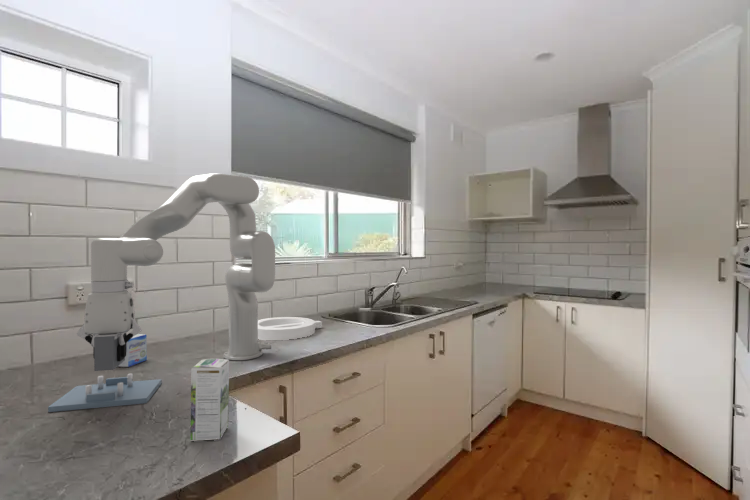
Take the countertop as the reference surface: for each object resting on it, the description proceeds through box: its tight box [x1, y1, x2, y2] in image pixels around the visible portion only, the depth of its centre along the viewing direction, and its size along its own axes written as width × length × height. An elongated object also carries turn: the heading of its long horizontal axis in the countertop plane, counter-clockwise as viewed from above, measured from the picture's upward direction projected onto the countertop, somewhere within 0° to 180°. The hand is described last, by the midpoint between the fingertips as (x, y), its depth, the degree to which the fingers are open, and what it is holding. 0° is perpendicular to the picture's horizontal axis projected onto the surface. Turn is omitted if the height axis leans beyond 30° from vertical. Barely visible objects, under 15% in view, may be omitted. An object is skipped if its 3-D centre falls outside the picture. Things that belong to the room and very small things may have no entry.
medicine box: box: [118, 333, 148, 368], centre depth 127 cm, size 8×4×9 cm, turn 168°
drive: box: [93, 333, 125, 372], centre depth 99 cm, size 4×8×8 cm, turn 15°
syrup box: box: [189, 358, 230, 440], centre depth 79 cm, size 6×6×14 cm
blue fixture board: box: [47, 372, 163, 413], centre depth 99 cm, size 20×14×4 cm
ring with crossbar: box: [258, 316, 323, 341], centre depth 172 cm, size 28×28×5 cm
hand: (110, 359), depth 99 cm, fingers closed on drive, 4 cm apart
